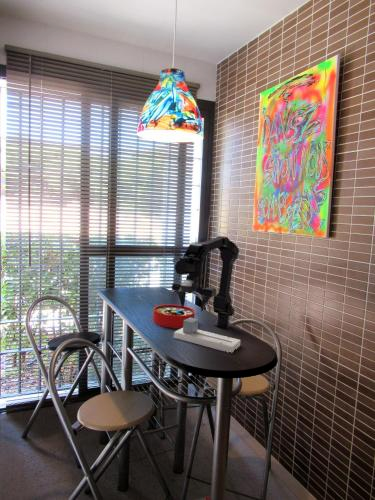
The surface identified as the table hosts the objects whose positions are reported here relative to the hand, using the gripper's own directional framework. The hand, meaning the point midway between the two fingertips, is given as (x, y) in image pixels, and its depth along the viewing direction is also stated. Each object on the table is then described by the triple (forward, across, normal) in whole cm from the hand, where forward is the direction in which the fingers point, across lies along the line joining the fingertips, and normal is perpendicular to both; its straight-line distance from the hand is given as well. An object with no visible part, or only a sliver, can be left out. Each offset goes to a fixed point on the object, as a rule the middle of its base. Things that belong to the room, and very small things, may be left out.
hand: (192, 309), depth 153 cm
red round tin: (+13, -17, +15) cm, 26 cm away
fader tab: (+10, 0, 0) cm, 10 cm away
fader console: (+12, +8, 0) cm, 15 cm away
